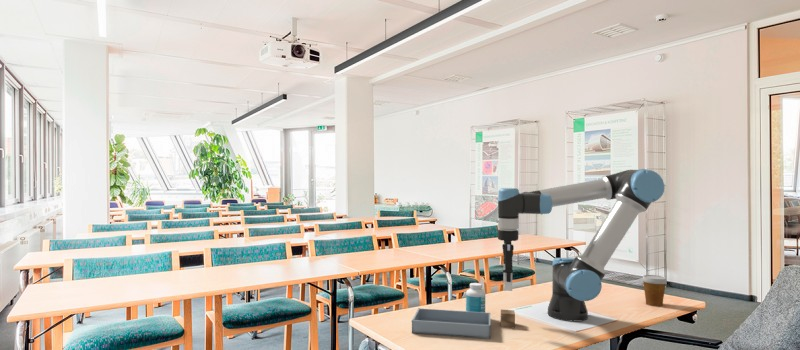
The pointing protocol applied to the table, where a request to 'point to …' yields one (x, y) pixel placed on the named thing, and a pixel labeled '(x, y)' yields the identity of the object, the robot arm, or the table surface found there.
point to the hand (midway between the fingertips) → (507, 286)
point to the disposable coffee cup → (654, 289)
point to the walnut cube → (507, 318)
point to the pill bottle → (475, 298)
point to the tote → (451, 323)
